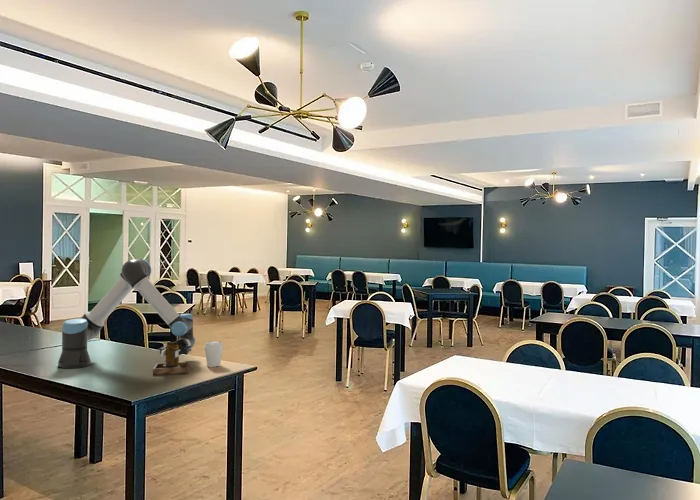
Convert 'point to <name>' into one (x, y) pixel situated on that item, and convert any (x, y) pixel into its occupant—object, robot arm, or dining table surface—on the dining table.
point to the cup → (213, 353)
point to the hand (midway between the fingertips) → (168, 354)
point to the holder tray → (170, 369)
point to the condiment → (172, 355)
